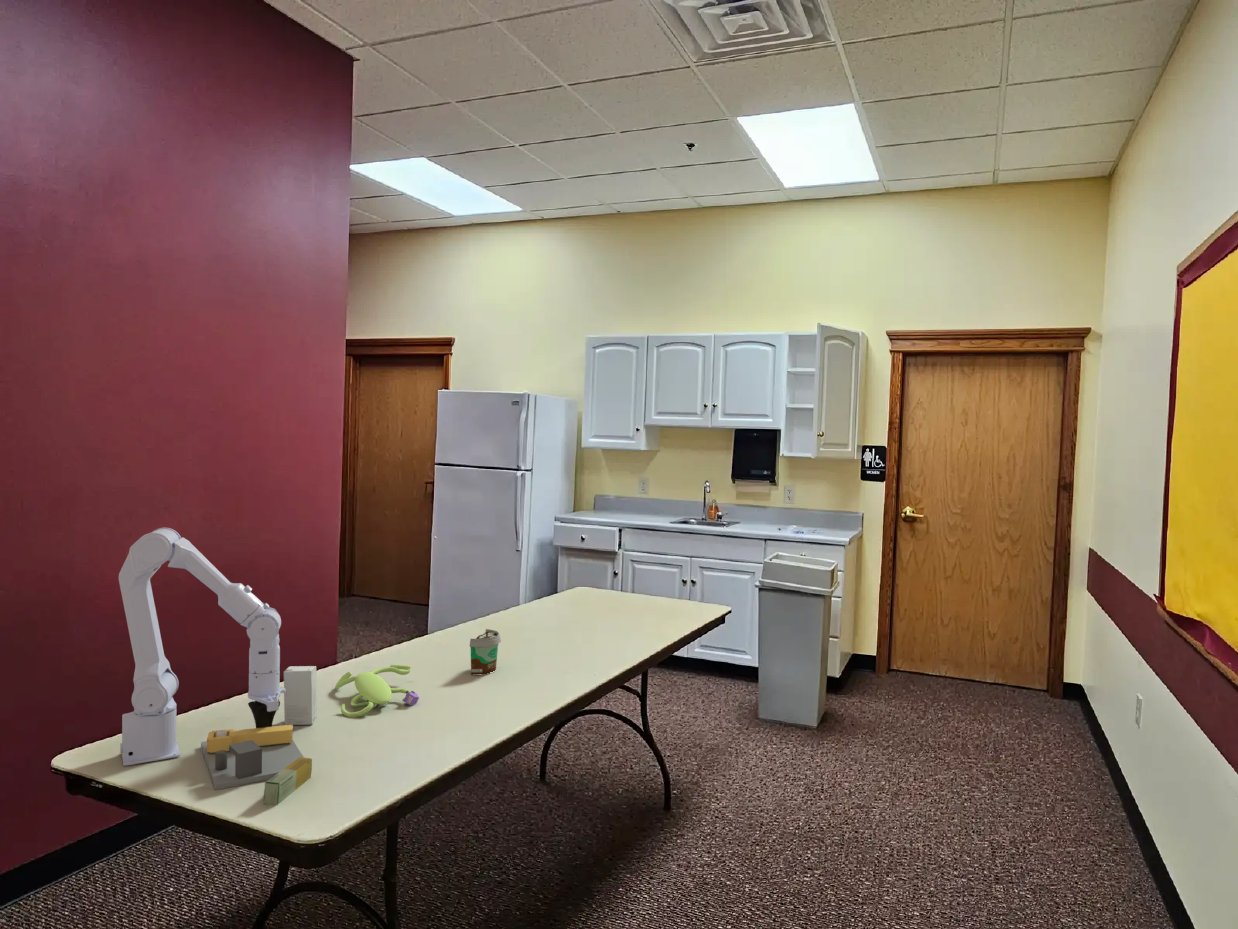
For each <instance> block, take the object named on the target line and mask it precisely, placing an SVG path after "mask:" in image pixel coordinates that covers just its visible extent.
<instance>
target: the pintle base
mask: <svg viewBox="0 0 1238 929" xmlns="http://www.w3.org/2000/svg"><path fill="white" fill-rule="evenodd" d="M223 736H227V731H218V732H217V733H216V737H223ZM200 748H201V751H202V754H203V757H204V760H205V763H206V766H207V769H208V773H209V775H210V779H211V781H212V784H213V787H214V791H216V790H218V791H219V790H222V789H228V788H234V787H237V786H238V787H239V786H242V785H244V786H245V785H249V784H254V783H258V782H264V781H265V782H266V781H268V780H270V779H271V778H272V777H274V776H275V775H276V774H278V773H279V772H280V771H282V770H283V769H284V768H286V767H287V766H288V765H290V764H291V763H293V762H294V761H295V760H297V759H298V758H299V757H303V758H305V757H304V756H303V753H302V752H301V751H300V749H299V748H298V746H297V745H296V743H295V741H294V740H293V739H292V742H291V743H282V744H272V745H263V746H258V745H257V744H256V743H255V742H254V741H252V740H249V741H245V742H240V743H236V744H231V745H229V751H225V750H221V751H217V752H213V753H209V752H207V740H206V741H204V740H203V741H201V742H200Z"/></svg>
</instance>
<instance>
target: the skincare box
mask: <svg viewBox="0 0 1238 929" xmlns="http://www.w3.org/2000/svg"><path fill="white" fill-rule="evenodd" d="M317 682H318V679H317V666H316V665H315V666H314V665H307V666H306V665H305V666H304V665H303V666H302V665H299V666H297V665H295V666H292V665H291V666H288V667H287V668H286V669H285V670H284V671H283V687H284V688H285V689H286V692H285V693H283V702H284V704H283V705H284V707H283V708H284V725H293V726H302V725H303V726H305V725H306V726H307V725H309V726H312V725H313V724H314V723H315V722H316V721H317V719H318V702H317V701H318V698H317V697H318V695H317V694H318V689H317V688H318V687H317V685H318V684H317Z"/></svg>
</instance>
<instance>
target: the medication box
mask: <svg viewBox="0 0 1238 929" xmlns="http://www.w3.org/2000/svg"><path fill="white" fill-rule="evenodd" d="M303 757H304V756H303ZM303 757H299V758H298V759H297V760H295V761H294V762H293V763H291V764H290V765H288V766H287V767H286V768H284V769H283V770H282V771H280V772H279V773H278V774H276V775H275V776H274V777H272V778H271V779H270V780H266V781H265V782H264V790H263V791H264V792H263V793H264V794H263V805H265V806H278V805H279V804H281V803H282V802H283V801H284V800H286V798H288V797H289V796H290V795H292V794H293V793H294V792H295V791H297V790H298V789H299V788H301V786H302V785H304V784H305V783H306V782H307V781H308V780H310V779H311V778H312V768H313V766H312V765H313V758H310V757H304V758H303Z"/></svg>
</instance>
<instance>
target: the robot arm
mask: <svg viewBox="0 0 1238 929" xmlns="http://www.w3.org/2000/svg"><path fill="white" fill-rule="evenodd" d="M168 561H169V563H168V565H167V567H168V568H174V569H184V570H186V571H188V573H190V574H191V575H193V576H194V577H195V578H197V579H198V580H199V581H200V582H201V583H202V584H204V585H205V586H206V587H208V588H209V589H210V590H211V591H212V592H214V593H215V594H216V596H217V599H218V601H217V604H218V606H219V607H220V608H222V609H223V610H224V611H225V612H226V613H227V614H228V615H230V617H232V619H233V620H235V621H236V622H237V623H238V624H239V625H240V626H242V627H245V628H246V635H247V637H248V638H249V640H250V641H249V644H250V645H249V649H248V692H247V698H248V699H250V700H252V701H249V702H248V703H247V705H248V707H249V709H250V711H251V713H252V716H253V720H254V723H255V728H263V727H273V722H274V718H275V715H276V714H277V711H279V710H280V709H279V708H280V705H281V701H280V696H281V694H284V693H285V692H286V689H285V688H284V686H281V687H280V683H281V682H280V679H281V678H280V676H281V673H280V668H281V667H280V664H281V647H280V634H279V631H280V629H281V626H282V619H281V615H280V614H279V612H278V611H277V609H276V608H273V607H270V605H269V604H268V603H267V602H265V603H264V602H262V601H261V600H260V599H259V598H258V597H257V596H256V595H255V594H254V593H252V590H253V587H251V586H250V585H249V584H247V585H246V586H245V585H244V584H243V583H241V582H239V583H237V582H235V583H233V582H231V581H230V580H229V579H228V578H226V576H225V575H224V574H223V573H222V572H221V571H219V570H218V568H216V566H215V565H214V564H213V563H211V562H210V561H209V560H208V559H207V558H206V557H205V555H203V553H202V552H201V551H199V549H197V548H196V546H194V545H193V543H191V541H190V540H188V539H186V538H185V537H182V536H181V535H180V534H179V532H177V530H174V529H173V528H170V527H158V528H156V529H154V530H153V531H152V532H149V533H146V534H144V535H142V536H141V537H139V539H137V540H136V541H135V542H134V543H133V544H132V545H131V546H130V547H129V552H128V554H127V557H126V559H125V560H124V562H123V565H122V566H121V569H120V571H119V574H118V583H119V589H120V592H121V598H122V603H123V609H124V613H125V618H126V619H125V620H126V623H127V628H128V634H129V639H130V644H131V649H132V654H133V660H134V664H135V668H134V673H133V678H132V681H133V685H134V688H133V692H132V694H131V704H132V707H133V711H131V712H128V713H123V714H122V717H121V718H122V720H121V727H122V728H121V738H122V739H121V743H120V744H119V745H120V748H119V751H120V754H121V756H122V766H124V767H125V766H132V765H137V764H143V763H150V762H155V761H162V760H167V759H173V758H179V757H180V756H181V752H180V749H179V744H178V741H177V706H178V705H177V703H176V701H175V700H174V697H173V696H174V695H175V694H176V693H177V691H178V689H179V683H180V682H179V679H178V676H177V675H176V674H175V673H174V672H173V671H172V669H171V664H170V661H169V660H168V658H166V655H165V653H164V652H165V651H164V647H163V642H162V641H163V640H162V636H161V631H160V625H159V620H158V619H159V618H158V615H157V609H156V604H155V601H154V594H153V589H152V588H153V587H152V583H151V579H152V577H153V576H154V575H155V574H156V572H157V571H158V570H159V569H160V568H161V566H162V565H163V564H165V563H167V562H168Z"/></svg>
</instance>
